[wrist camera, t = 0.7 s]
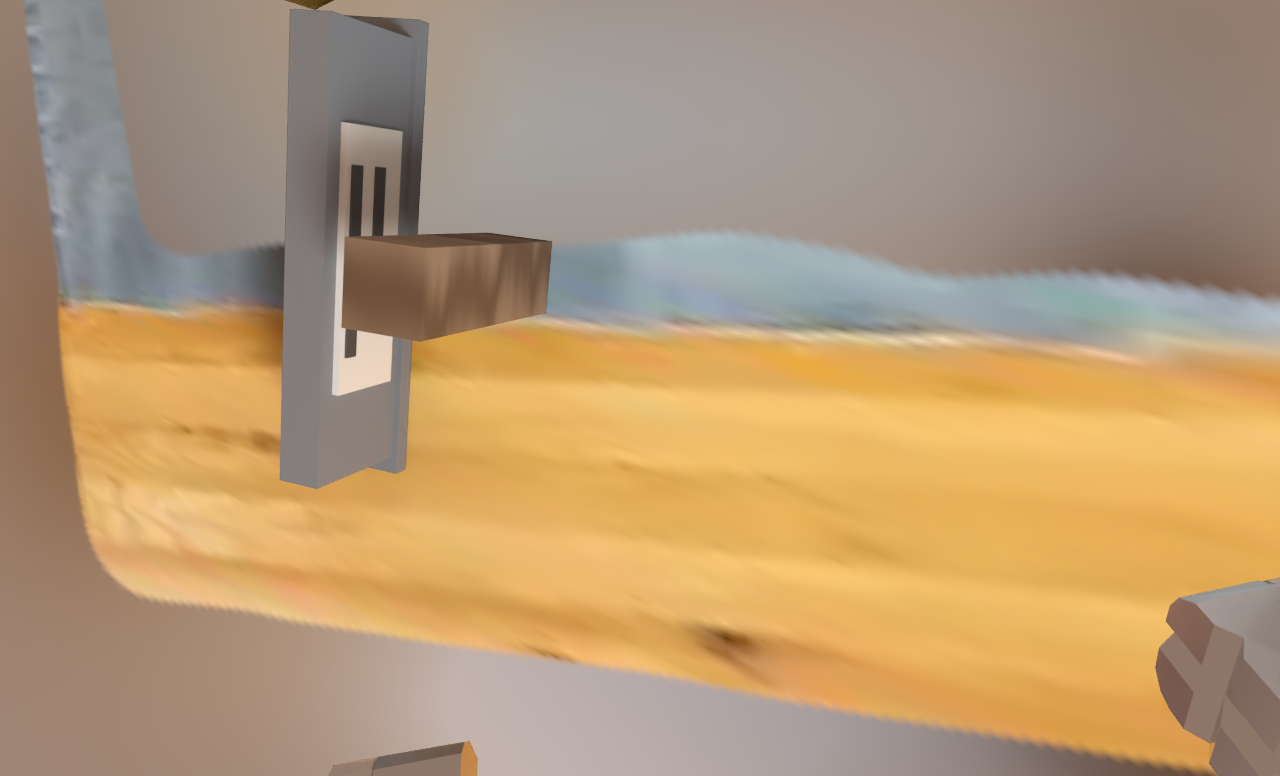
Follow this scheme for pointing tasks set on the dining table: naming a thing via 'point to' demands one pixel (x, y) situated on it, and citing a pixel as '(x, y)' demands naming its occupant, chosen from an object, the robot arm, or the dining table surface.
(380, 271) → the walnut block
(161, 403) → the dining table surface
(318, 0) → the candy box
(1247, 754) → the robot arm
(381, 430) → the label stand
